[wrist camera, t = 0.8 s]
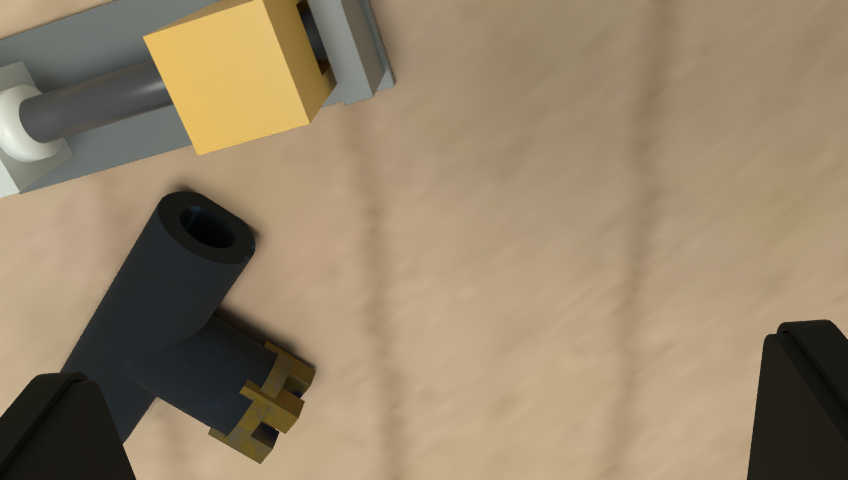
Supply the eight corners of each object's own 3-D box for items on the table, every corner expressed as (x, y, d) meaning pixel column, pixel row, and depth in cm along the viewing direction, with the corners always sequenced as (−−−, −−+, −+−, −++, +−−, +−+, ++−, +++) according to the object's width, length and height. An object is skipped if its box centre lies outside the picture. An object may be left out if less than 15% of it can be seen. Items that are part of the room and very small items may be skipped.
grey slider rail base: (343, -77, 30) (318, -68, 25) (395, 82, 33) (381, 116, 28) (-51, 57, 34) (-135, 86, 29) (26, 189, 37) (-39, 234, 32)
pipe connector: (354, 356, 34) (209, 529, 40) (371, 298, 39) (239, 461, 45) (137, 221, 32) (19, 426, 38) (184, 177, 36) (72, 366, 43)
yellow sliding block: (308, -29, 30) (261, -2, 23) (344, 73, 32) (309, 123, 25) (213, 2, 31) (142, 36, 24) (253, 100, 32) (197, 155, 26)
